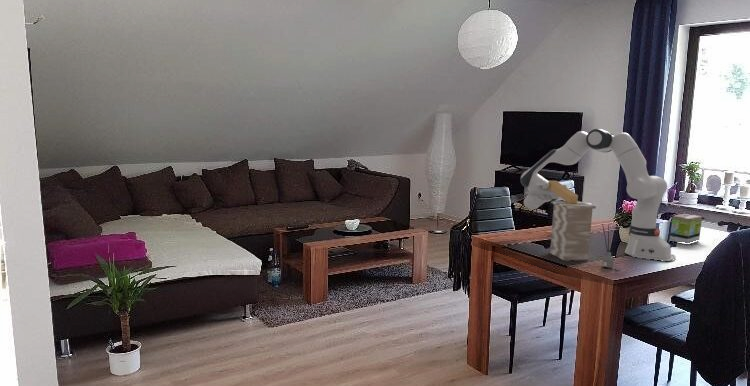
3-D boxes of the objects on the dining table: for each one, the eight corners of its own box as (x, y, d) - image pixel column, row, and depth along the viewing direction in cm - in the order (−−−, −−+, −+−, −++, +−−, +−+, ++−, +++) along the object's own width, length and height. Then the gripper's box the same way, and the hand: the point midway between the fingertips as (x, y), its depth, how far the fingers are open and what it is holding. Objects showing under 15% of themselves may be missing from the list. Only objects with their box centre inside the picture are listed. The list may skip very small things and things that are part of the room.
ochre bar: (547, 187, 285) (548, 180, 284) (554, 187, 286) (556, 180, 285) (569, 203, 265) (570, 195, 264) (576, 203, 266) (578, 195, 265)
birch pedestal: (547, 252, 276) (551, 200, 272) (573, 251, 279) (577, 200, 275) (564, 261, 261) (568, 206, 257) (591, 260, 263) (595, 206, 259)
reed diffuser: (595, 266, 254) (599, 223, 251) (603, 263, 258) (607, 221, 255) (616, 271, 246) (621, 227, 243) (624, 269, 250) (628, 225, 247)
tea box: (688, 245, 298) (691, 218, 296) (668, 242, 306) (671, 215, 303) (699, 242, 308) (702, 215, 305) (680, 238, 315) (683, 212, 313)
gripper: (522, 188, 294) (534, 178, 282) (558, 188, 298) (571, 178, 285) (524, 199, 292) (536, 190, 279) (560, 199, 296) (573, 190, 283)
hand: (554, 184), depth 282 cm, fingers closed on ochre bar, 4 cm apart
